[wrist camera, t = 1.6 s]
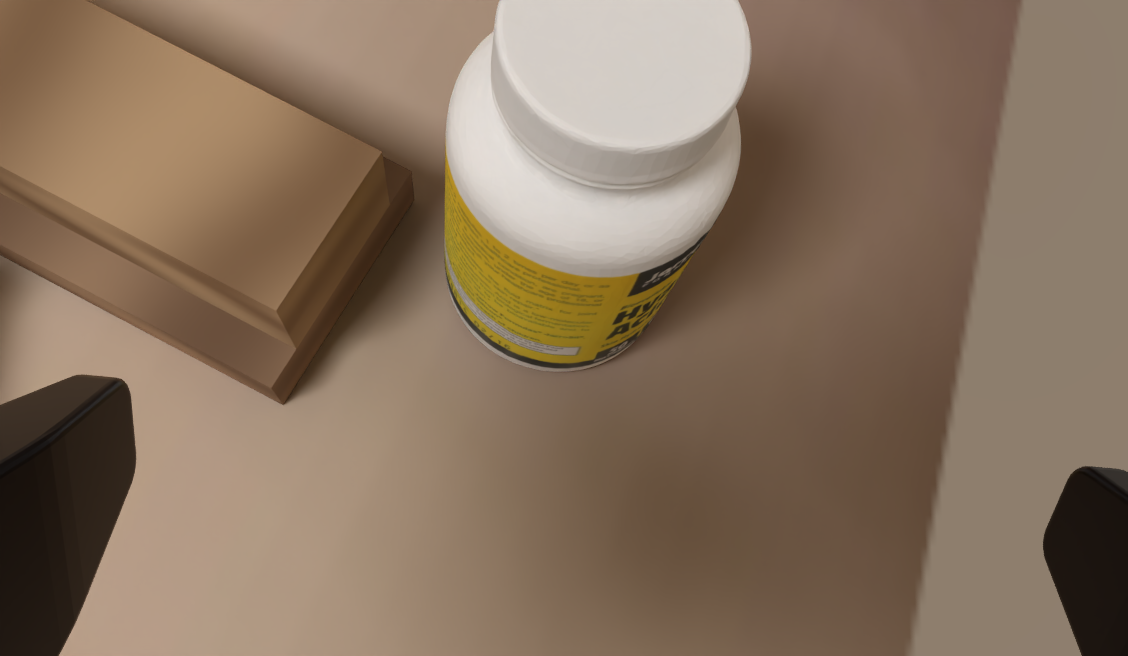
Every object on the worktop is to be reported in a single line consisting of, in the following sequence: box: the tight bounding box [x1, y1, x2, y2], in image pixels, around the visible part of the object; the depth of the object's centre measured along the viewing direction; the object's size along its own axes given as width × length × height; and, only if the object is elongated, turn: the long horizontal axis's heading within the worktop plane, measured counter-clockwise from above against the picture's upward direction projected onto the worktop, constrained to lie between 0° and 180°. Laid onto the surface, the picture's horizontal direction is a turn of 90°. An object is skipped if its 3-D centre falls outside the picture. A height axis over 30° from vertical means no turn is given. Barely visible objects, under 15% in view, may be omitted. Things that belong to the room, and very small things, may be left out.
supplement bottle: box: [444, 0, 751, 372], centre depth 19 cm, size 5×5×10 cm
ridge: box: [0, 0, 414, 405], centre depth 21 cm, size 14×6×4 cm, turn 63°
